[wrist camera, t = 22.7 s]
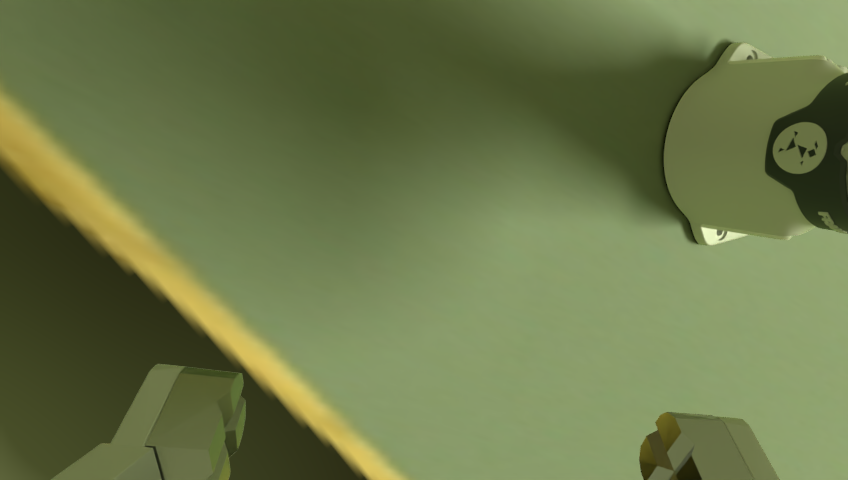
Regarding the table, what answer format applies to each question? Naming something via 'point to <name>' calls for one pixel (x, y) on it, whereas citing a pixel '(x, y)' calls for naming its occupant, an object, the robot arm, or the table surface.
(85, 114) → the table surface
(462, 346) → the table surface
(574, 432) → the table surface
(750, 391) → the table surface
